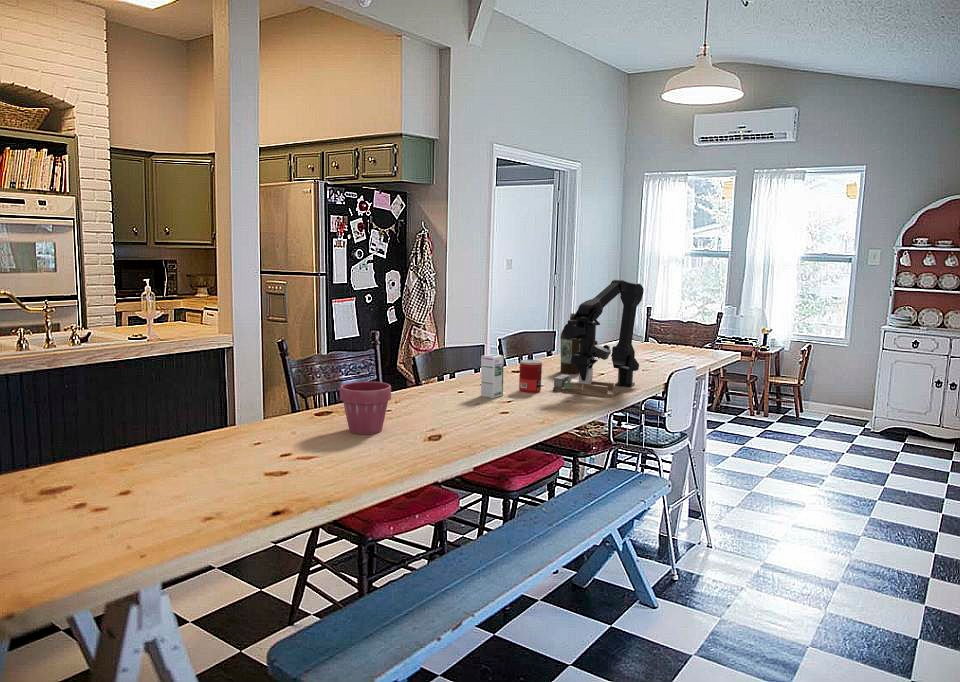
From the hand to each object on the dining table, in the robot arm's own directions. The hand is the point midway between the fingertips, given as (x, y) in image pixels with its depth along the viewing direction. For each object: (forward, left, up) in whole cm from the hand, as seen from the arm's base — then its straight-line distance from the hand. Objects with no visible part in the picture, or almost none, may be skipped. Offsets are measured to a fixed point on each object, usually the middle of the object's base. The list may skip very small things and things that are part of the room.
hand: (585, 379), depth 264 cm
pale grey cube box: (+1, -2, -3) cm, 4 cm away
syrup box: (+27, -25, -4) cm, 37 cm away
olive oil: (-36, -17, -4) cm, 40 cm away
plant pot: (+89, -35, -4) cm, 96 cm away
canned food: (+11, -17, -5) cm, 21 cm away
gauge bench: (0, +1, -4) cm, 4 cm away
